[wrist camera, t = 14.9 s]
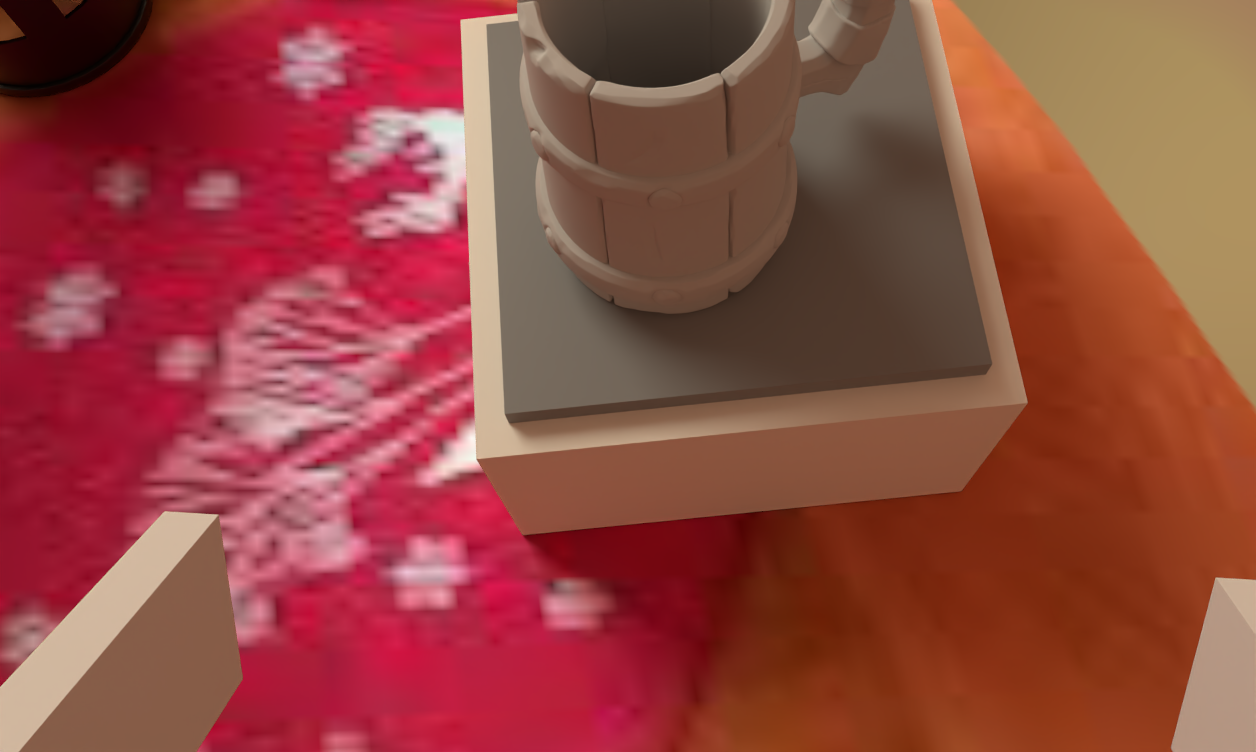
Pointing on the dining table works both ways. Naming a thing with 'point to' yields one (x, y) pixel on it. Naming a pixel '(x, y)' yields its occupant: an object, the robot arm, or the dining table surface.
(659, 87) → the mug
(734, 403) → the stand
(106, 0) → the french press
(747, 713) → the dining table surface
